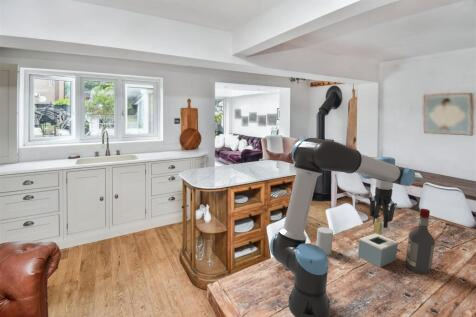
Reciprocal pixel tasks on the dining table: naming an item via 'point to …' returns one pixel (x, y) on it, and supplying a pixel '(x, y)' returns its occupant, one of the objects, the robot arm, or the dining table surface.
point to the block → (378, 226)
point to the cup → (325, 239)
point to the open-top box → (377, 249)
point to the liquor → (420, 246)
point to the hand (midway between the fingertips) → (379, 231)
